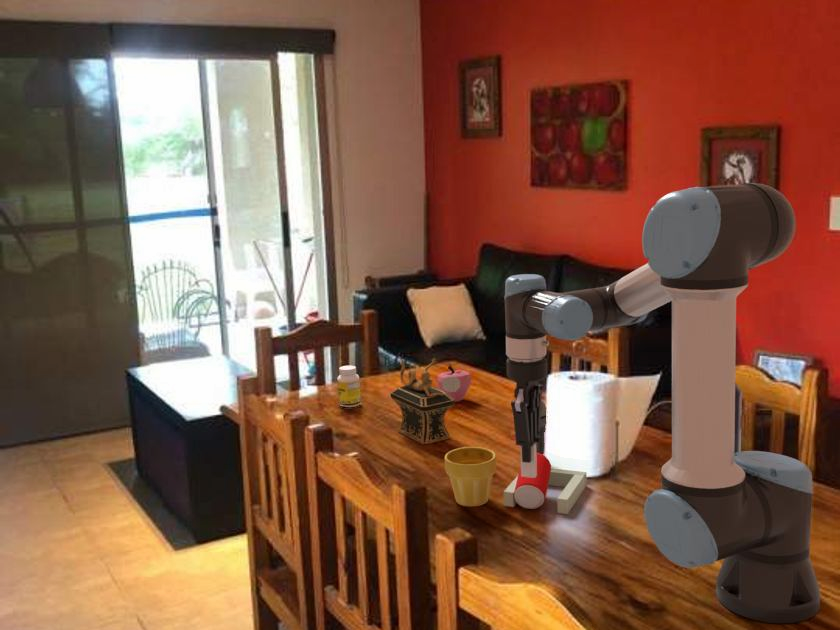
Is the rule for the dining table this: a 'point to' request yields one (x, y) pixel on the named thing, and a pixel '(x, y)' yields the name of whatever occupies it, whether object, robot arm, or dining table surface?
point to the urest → (558, 477)
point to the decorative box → (422, 407)
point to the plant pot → (471, 474)
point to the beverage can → (533, 485)
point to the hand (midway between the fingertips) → (528, 475)
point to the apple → (454, 383)
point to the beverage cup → (541, 429)
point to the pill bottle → (348, 387)
